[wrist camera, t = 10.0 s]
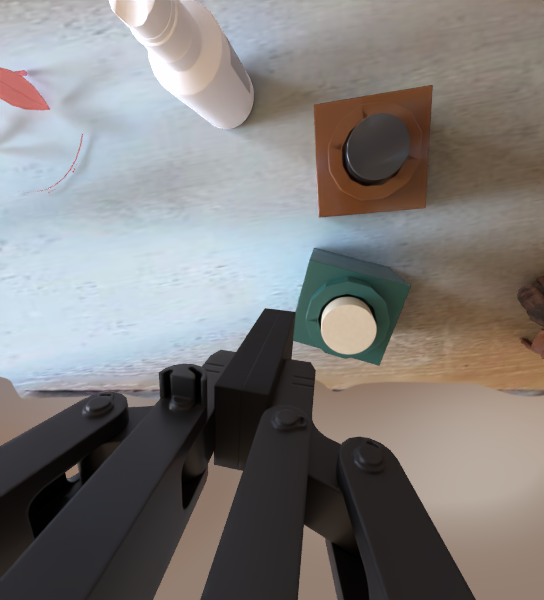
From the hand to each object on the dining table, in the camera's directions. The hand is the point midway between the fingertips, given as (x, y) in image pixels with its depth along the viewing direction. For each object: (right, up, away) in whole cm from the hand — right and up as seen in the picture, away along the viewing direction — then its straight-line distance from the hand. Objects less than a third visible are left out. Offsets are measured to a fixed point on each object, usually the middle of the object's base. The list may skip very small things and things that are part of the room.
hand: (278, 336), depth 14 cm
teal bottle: (+9, +3, +25) cm, 27 cm away
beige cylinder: (+7, 0, +14) cm, 16 cm away
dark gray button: (+9, +15, +11) cm, 20 cm away
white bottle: (-6, +26, +20) cm, 34 cm away
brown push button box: (+10, +17, +20) cm, 29 cm away
